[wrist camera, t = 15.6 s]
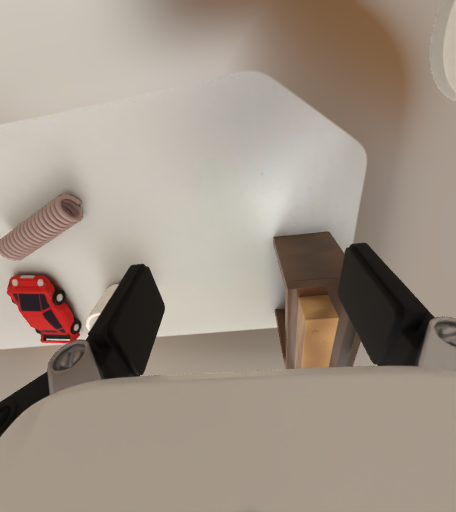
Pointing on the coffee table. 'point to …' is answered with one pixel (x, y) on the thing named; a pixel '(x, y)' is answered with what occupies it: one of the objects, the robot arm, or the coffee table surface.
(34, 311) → the toy car
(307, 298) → the stick
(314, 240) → the shelf
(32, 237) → the coil
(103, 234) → the coffee table surface
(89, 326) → the mug
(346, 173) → the coffee table surface
